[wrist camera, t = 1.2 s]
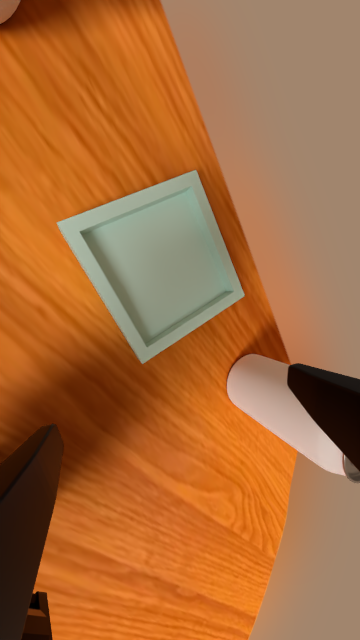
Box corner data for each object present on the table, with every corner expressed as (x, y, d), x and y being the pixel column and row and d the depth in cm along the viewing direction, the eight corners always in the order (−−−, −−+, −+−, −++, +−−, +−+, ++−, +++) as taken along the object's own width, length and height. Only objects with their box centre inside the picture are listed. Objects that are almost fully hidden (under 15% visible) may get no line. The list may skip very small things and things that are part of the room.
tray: (233, 295, 23) (244, 295, 22) (137, 358, 20) (142, 364, 18) (186, 179, 20) (196, 169, 18) (59, 230, 16) (56, 222, 14)
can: (273, 384, 27) (400, 443, 16) (236, 417, 25) (352, 509, 14) (257, 342, 25) (388, 377, 15) (215, 373, 23) (331, 442, 13)
